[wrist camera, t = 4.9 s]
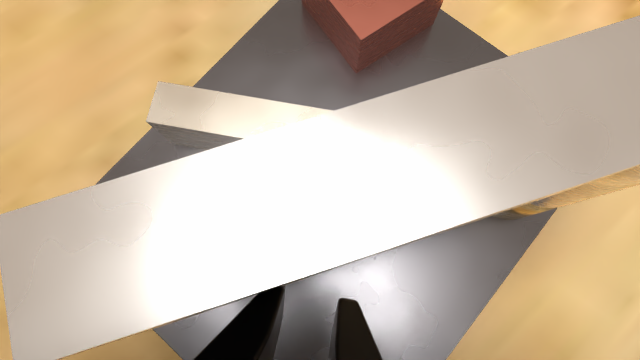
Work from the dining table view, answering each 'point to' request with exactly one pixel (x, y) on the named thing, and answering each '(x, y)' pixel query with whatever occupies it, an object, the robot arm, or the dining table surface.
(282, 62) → the base
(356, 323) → the robot arm
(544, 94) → the swing bar
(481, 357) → the dining table surface
